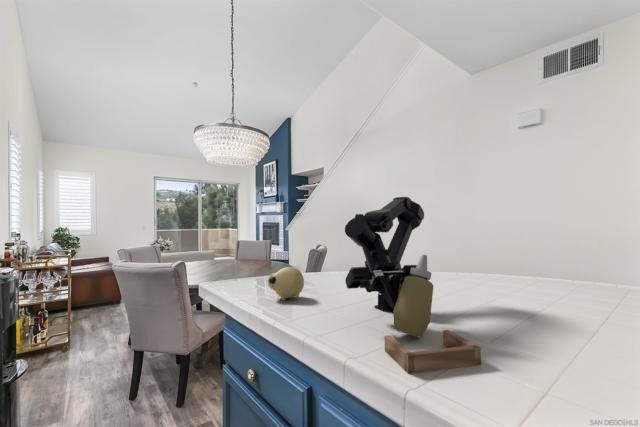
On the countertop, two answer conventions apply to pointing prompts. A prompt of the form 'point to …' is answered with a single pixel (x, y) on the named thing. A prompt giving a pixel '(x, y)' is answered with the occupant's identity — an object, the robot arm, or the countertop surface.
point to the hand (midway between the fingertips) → (395, 308)
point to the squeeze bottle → (414, 301)
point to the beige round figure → (287, 282)
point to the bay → (435, 354)
